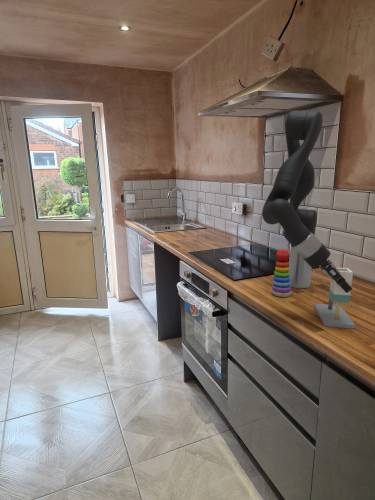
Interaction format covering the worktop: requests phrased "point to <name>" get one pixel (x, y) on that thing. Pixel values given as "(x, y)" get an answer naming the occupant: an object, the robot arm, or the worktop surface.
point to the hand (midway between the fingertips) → (346, 287)
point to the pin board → (333, 315)
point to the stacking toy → (282, 275)
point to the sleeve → (336, 291)
